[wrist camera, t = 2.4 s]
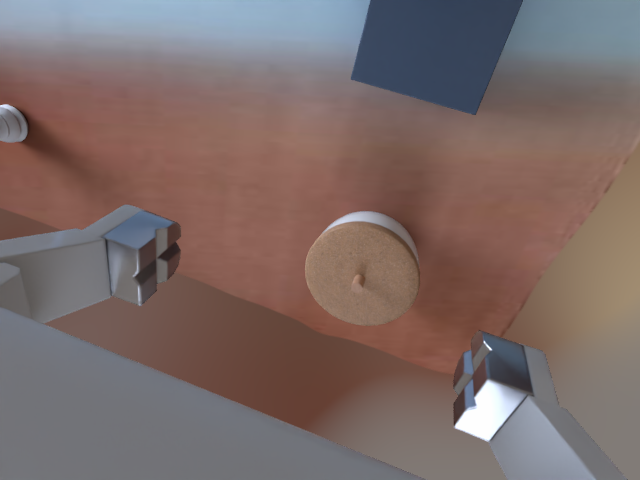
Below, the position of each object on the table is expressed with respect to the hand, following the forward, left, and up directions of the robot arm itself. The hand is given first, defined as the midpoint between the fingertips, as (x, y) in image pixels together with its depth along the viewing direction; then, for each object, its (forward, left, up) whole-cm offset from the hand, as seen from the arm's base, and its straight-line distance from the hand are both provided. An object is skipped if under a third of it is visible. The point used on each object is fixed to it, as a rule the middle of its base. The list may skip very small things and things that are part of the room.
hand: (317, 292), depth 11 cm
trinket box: (+12, -6, -31) cm, 34 cm away
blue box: (-7, +4, -31) cm, 32 cm away
